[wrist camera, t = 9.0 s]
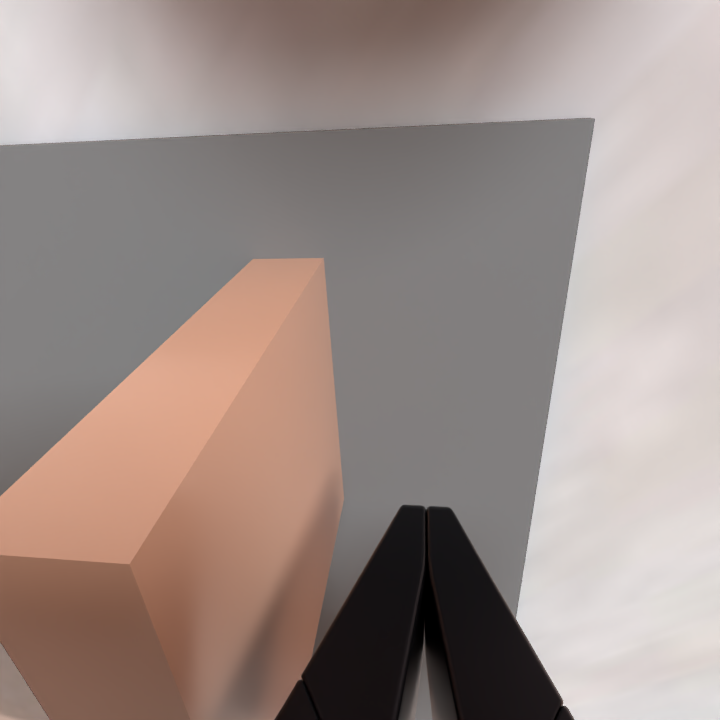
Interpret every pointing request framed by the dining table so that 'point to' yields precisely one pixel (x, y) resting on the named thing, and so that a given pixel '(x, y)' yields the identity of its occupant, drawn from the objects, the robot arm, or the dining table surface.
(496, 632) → the robot arm
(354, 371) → the mat
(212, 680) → the tile
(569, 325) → the dining table surface
